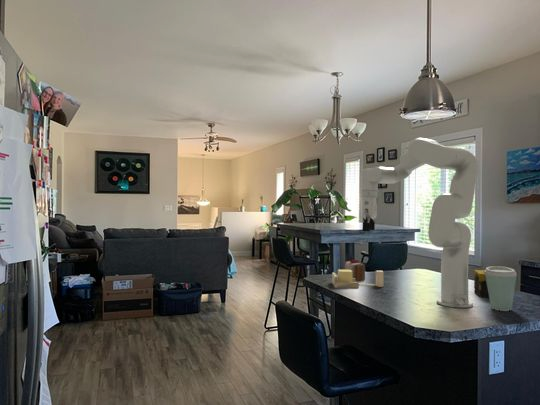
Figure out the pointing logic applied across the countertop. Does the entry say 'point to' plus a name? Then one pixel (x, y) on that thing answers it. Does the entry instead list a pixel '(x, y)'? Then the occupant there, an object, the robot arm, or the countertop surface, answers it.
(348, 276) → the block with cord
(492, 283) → the disposable coffee cup
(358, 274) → the food item
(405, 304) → the countertop surface
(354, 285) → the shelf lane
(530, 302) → the countertop surface
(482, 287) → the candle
